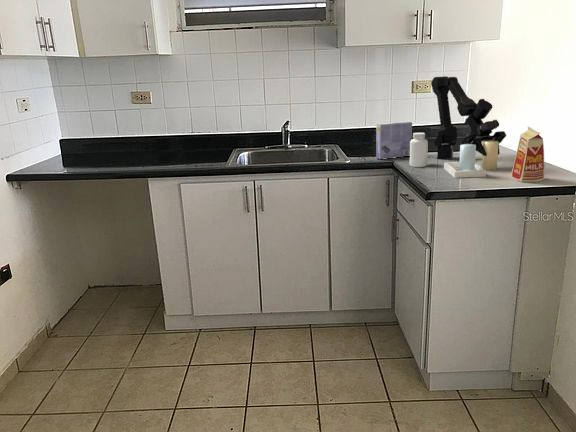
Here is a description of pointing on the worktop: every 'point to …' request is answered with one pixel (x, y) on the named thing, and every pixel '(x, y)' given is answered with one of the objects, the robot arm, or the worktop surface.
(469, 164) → the pale blue cylinder
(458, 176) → the white rectangular tray
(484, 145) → the beige tall cylinder
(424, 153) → the pill bottle
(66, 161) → the worktop surface
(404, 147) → the cake pan box
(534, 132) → the milk carton
